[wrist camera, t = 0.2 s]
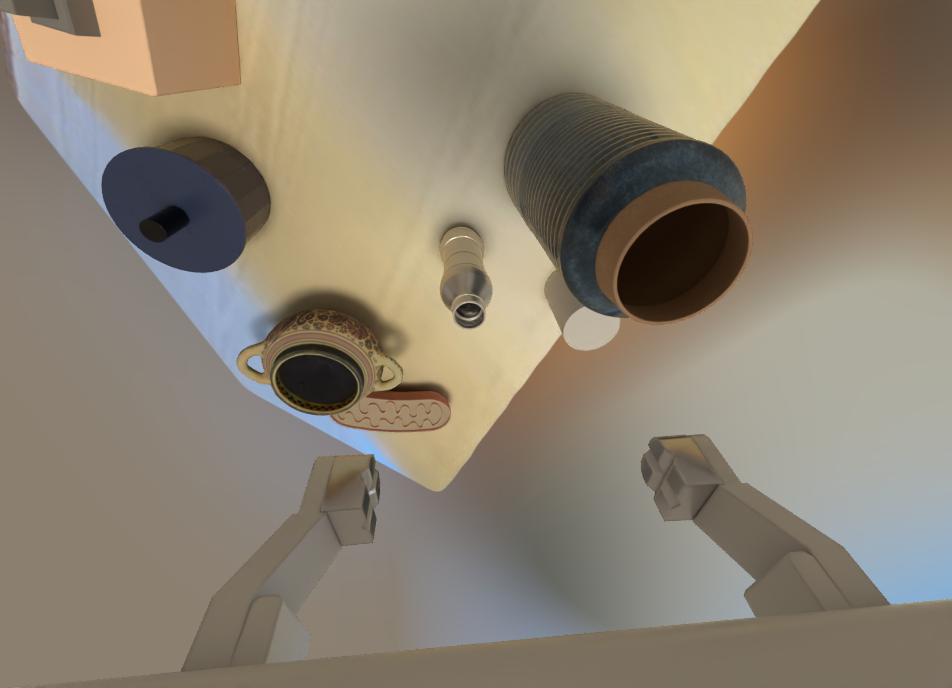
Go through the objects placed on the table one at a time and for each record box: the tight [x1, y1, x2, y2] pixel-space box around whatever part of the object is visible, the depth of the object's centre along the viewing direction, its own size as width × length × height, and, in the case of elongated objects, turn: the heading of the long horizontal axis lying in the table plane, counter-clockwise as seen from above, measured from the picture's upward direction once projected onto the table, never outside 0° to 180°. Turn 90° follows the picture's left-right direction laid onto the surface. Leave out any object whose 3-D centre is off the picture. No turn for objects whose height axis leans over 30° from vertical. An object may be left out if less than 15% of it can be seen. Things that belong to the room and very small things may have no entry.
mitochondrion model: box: [330, 391, 451, 433], centre depth 73 cm, size 23×10×5 cm, turn 81°
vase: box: [505, 93, 753, 325], centre depth 38 cm, size 16×16×32 cm
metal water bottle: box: [440, 227, 493, 329], centre depth 49 cm, size 6×7×20 cm
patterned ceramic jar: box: [236, 309, 403, 416], centre depth 59 cm, size 24×18×15 cm
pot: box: [158, 137, 270, 243], centre depth 46 cm, size 13×13×10 cm
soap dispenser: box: [0, 0, 241, 97], centre depth 30 cm, size 13×9×22 cm
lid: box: [102, 147, 247, 273], centre depth 40 cm, size 14×14×6 cm
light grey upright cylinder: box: [545, 270, 620, 350], centre depth 58 cm, size 8×8×12 cm
